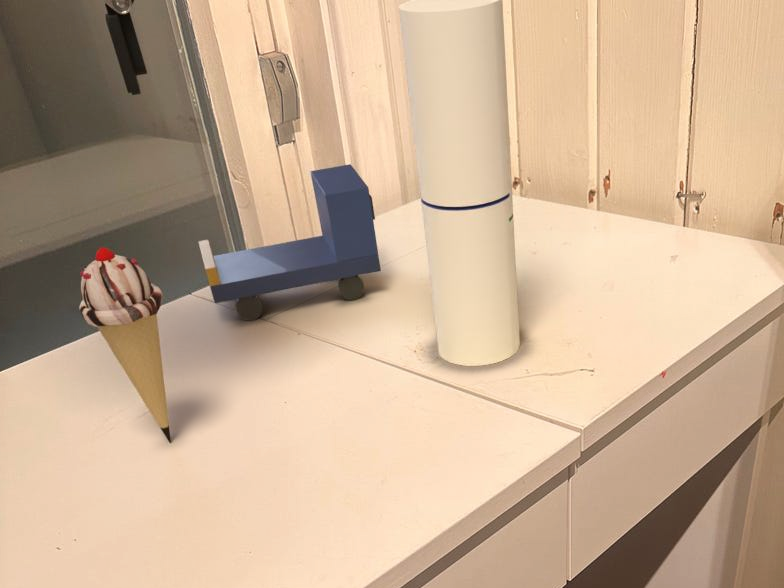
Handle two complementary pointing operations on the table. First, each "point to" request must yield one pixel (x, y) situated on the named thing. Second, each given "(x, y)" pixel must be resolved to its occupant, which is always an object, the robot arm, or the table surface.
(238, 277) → the flatbed truck
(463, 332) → the cylindrical container
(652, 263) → the table surface
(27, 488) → the table surface
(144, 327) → the ice cream cone
